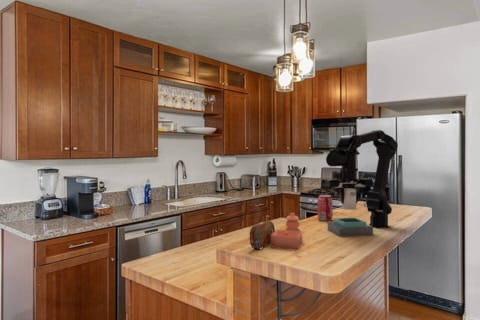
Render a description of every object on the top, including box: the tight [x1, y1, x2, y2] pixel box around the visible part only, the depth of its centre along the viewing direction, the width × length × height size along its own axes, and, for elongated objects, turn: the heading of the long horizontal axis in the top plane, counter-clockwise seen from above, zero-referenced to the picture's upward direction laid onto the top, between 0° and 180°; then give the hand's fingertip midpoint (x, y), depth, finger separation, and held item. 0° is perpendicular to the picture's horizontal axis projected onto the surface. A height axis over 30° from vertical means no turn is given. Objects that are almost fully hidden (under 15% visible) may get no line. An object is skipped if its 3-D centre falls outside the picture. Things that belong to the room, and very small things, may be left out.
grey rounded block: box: [341, 187, 357, 211], centre depth 137 cm, size 6×7×8 cm
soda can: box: [317, 194, 334, 222], centre depth 164 cm, size 7×7×12 cm
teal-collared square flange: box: [327, 217, 374, 237], centre depth 138 cm, size 14×12×5 cm
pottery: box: [270, 212, 303, 250], centre depth 124 cm, size 18×10×10 cm, turn 159°
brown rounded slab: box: [249, 220, 276, 250], centre depth 119 cm, size 15×3×8 cm, turn 148°
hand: (349, 203), depth 138 cm, fingers closed on grey rounded block, 5 cm apart
